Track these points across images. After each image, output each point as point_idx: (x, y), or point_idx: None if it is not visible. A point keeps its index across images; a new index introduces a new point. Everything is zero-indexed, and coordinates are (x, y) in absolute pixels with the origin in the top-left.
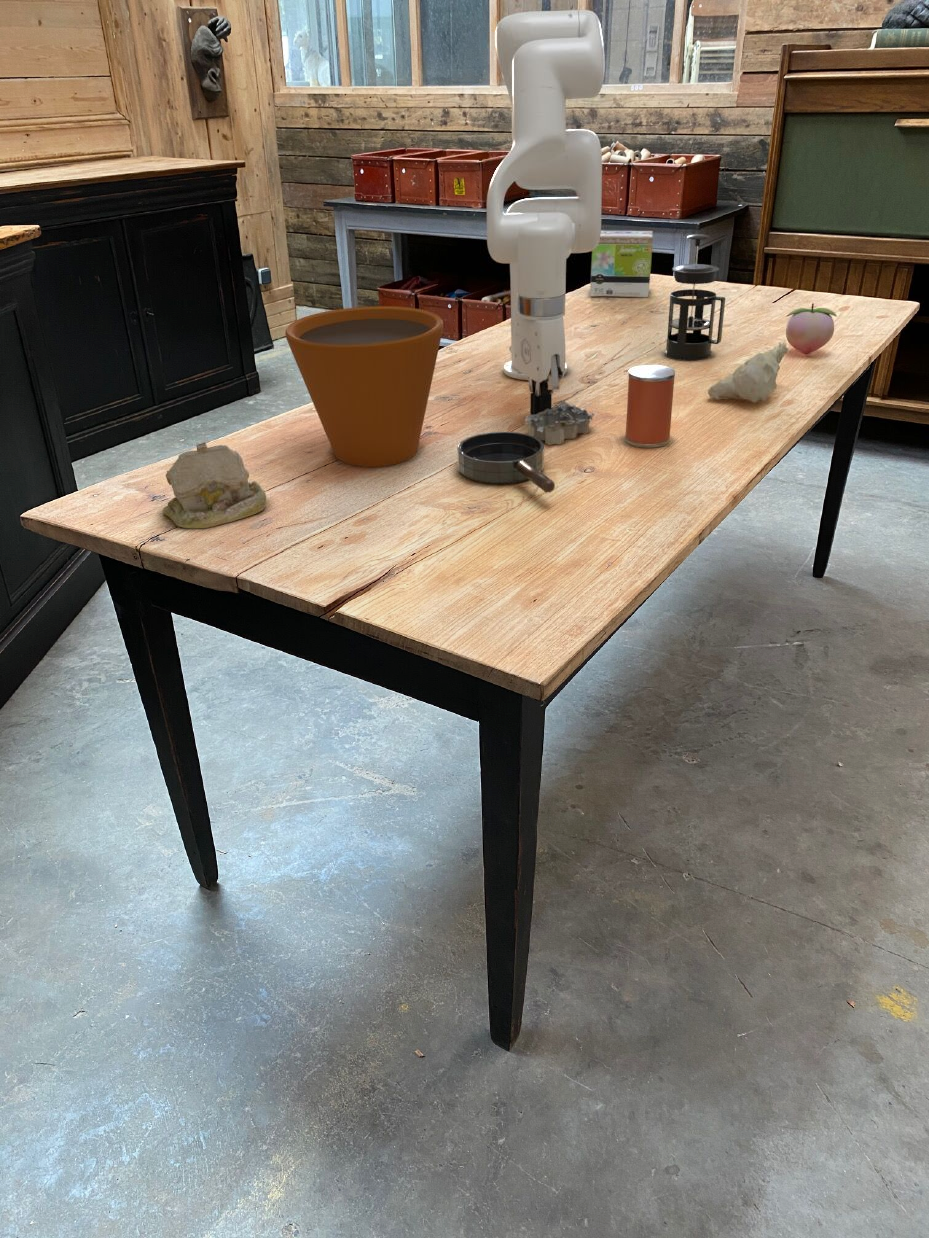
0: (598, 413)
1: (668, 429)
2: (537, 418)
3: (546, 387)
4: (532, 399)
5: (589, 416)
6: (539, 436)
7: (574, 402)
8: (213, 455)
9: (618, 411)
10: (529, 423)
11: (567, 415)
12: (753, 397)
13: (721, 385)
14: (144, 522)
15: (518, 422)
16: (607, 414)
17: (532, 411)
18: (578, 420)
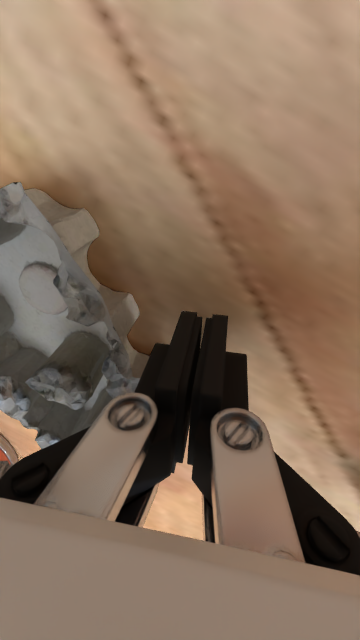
0: (192, 481)
1: None
2: (64, 283)
3: (11, 475)
4: (201, 371)
5: (37, 437)
6: (17, 228)
7: (321, 495)
8: None
9: (179, 508)
10: (52, 223)
11: (48, 394)
12: None
13: None
14: None
15: (281, 260)
16: (173, 487)
17: (208, 327)
18: (9, 396)
